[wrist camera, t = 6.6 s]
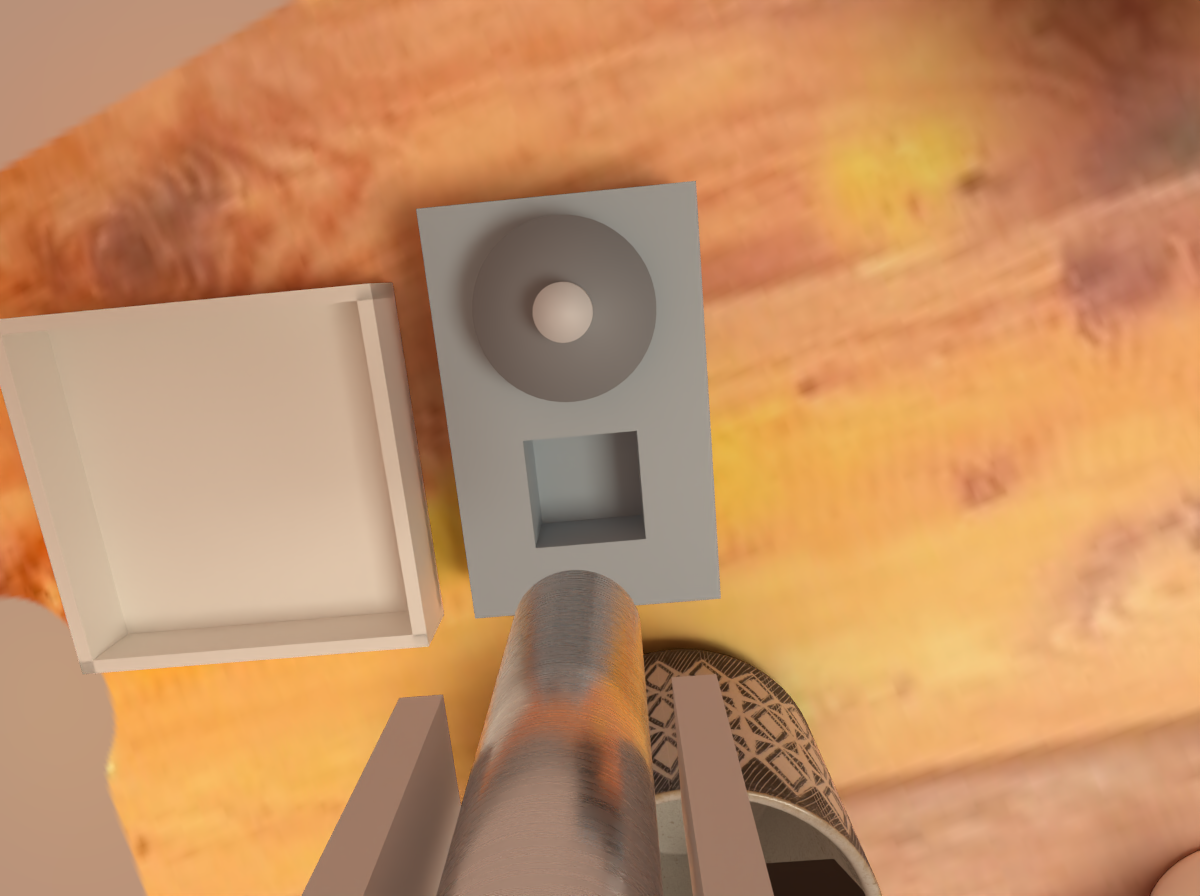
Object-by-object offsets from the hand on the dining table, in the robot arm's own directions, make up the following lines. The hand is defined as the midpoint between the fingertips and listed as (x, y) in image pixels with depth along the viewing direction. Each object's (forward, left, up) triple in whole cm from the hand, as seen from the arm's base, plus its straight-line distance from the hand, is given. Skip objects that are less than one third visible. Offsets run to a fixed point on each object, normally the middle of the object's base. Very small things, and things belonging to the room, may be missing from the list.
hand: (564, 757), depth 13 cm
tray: (-1, -15, -20) cm, 25 cm away
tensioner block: (-3, 0, -20) cm, 20 cm away
